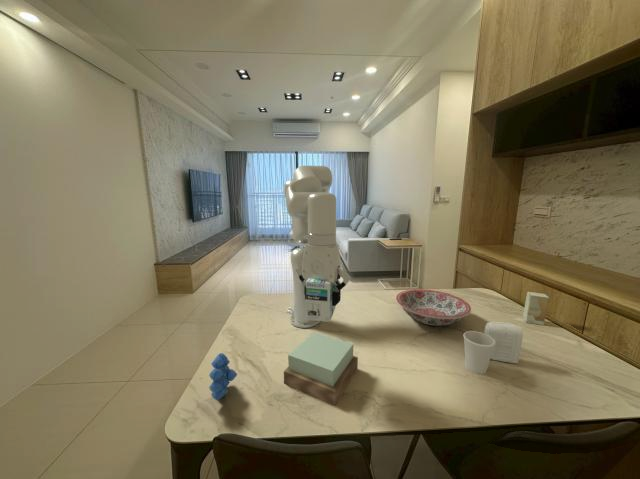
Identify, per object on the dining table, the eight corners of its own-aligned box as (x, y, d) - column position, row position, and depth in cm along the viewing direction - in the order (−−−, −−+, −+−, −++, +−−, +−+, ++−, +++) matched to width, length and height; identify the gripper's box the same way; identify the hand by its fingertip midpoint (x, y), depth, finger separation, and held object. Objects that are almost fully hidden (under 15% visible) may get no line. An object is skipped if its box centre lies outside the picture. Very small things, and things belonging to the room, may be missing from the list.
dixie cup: (474, 356, 86) (477, 328, 84) (498, 373, 78) (502, 342, 77) (454, 362, 83) (457, 333, 82) (477, 379, 76) (481, 348, 74)
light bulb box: (330, 323, 68) (330, 283, 66) (305, 320, 70) (305, 281, 68) (336, 305, 78) (336, 271, 77) (314, 303, 80) (314, 269, 78)
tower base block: (284, 385, 74) (283, 371, 74) (312, 355, 88) (312, 342, 87) (334, 407, 67) (335, 391, 66) (357, 370, 80) (357, 357, 80)
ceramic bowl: (468, 312, 118) (469, 295, 116) (470, 345, 92) (473, 324, 91) (401, 300, 131) (402, 285, 130) (388, 326, 106) (388, 308, 104)
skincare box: (525, 322, 108) (529, 295, 106) (522, 318, 112) (526, 291, 110) (545, 325, 106) (549, 297, 104) (540, 321, 110) (545, 293, 108)
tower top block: (288, 369, 74) (288, 354, 74) (313, 344, 86) (313, 332, 86) (332, 386, 68) (332, 371, 67) (353, 357, 80) (353, 343, 79)
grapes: (234, 412, 65) (231, 368, 62) (205, 415, 64) (201, 371, 62) (242, 379, 76) (239, 341, 74) (217, 381, 75) (214, 343, 73)
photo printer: (515, 357, 86) (520, 322, 84) (520, 365, 82) (526, 329, 80) (479, 351, 89) (483, 317, 87) (483, 359, 85) (487, 324, 83)
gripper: (287, 239, 71) (288, 299, 74) (346, 245, 63) (345, 313, 66) (302, 235, 78) (303, 291, 81) (357, 240, 69) (356, 302, 73)
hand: (321, 300), depth 73 cm, fingers closed on light bulb box, 8 cm apart
